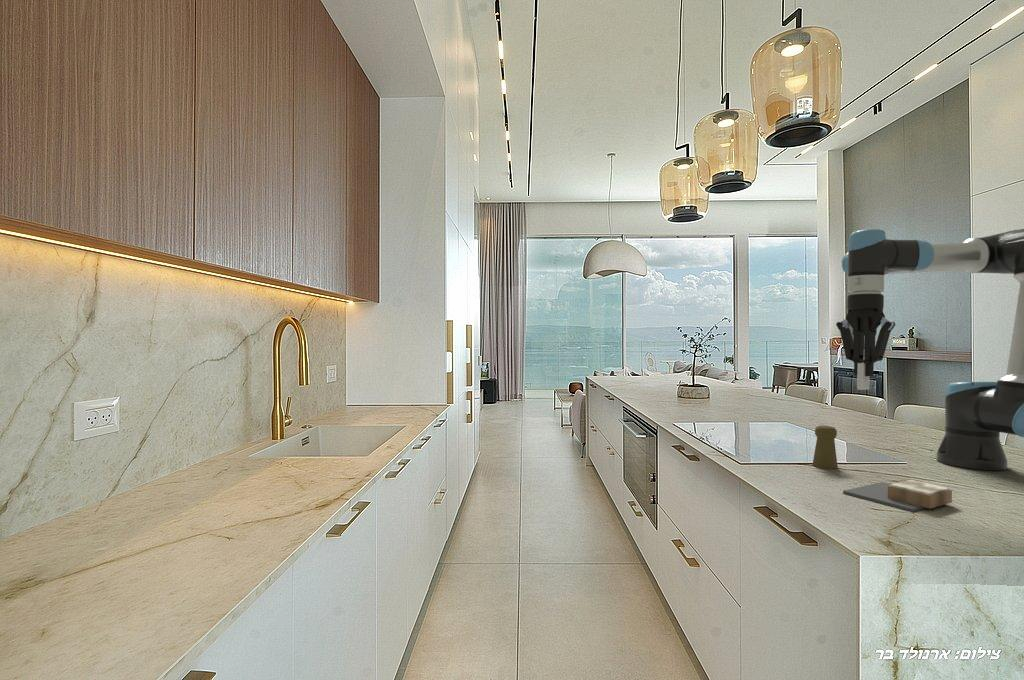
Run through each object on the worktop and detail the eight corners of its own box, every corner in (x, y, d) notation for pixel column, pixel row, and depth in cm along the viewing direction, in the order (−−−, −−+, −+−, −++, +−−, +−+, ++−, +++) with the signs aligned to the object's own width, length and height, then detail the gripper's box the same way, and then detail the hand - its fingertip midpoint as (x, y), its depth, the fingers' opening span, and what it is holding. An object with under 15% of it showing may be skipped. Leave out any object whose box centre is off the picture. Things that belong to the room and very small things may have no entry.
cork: (813, 467, 146) (814, 426, 146) (810, 462, 152) (811, 423, 152) (839, 470, 144) (840, 428, 144) (835, 464, 150) (836, 424, 150)
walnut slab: (909, 479, 122) (952, 488, 115) (909, 492, 122) (951, 502, 115) (887, 484, 118) (930, 494, 111) (887, 497, 118) (930, 508, 111)
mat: (882, 484, 131) (882, 481, 131) (951, 500, 118) (951, 498, 118) (843, 493, 123) (843, 490, 123) (912, 511, 111) (913, 508, 111)
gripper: (830, 294, 138) (828, 387, 138) (885, 291, 127) (883, 393, 127) (847, 295, 142) (845, 386, 142) (902, 292, 130) (900, 391, 131)
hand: (863, 389), depth 135 cm, fingers closed
